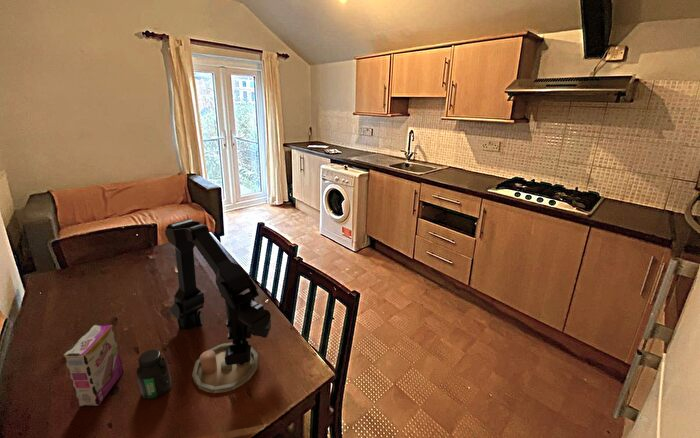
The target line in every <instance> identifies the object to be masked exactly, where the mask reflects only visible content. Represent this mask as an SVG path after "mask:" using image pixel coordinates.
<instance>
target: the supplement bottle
mask: <svg viewBox="0 0 700 438" xmlns="http://www.w3.org/2000/svg"><path fill="white" fill-rule="evenodd" d="M137 361H138V367H137V368H136V377H137V382H138V384H139V389H140V393H141V396H142V398H143V399H145V400H147V401H152V400H153V401H154V400H157V399H159V398H162V397H164V396H165V395H166V394H167V393H168V392H169V391H170V390H171V387H172V379H171V374H170V370H169V364H168V361H167V360H166V358H164V357H163V356H162V355H161V351H160V350H159V349H157V348H156V349H154V348H152V349H149V350H146V351H145V352H142V353H141V354H140V355H139V357H138V360H137Z"/></svg>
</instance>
